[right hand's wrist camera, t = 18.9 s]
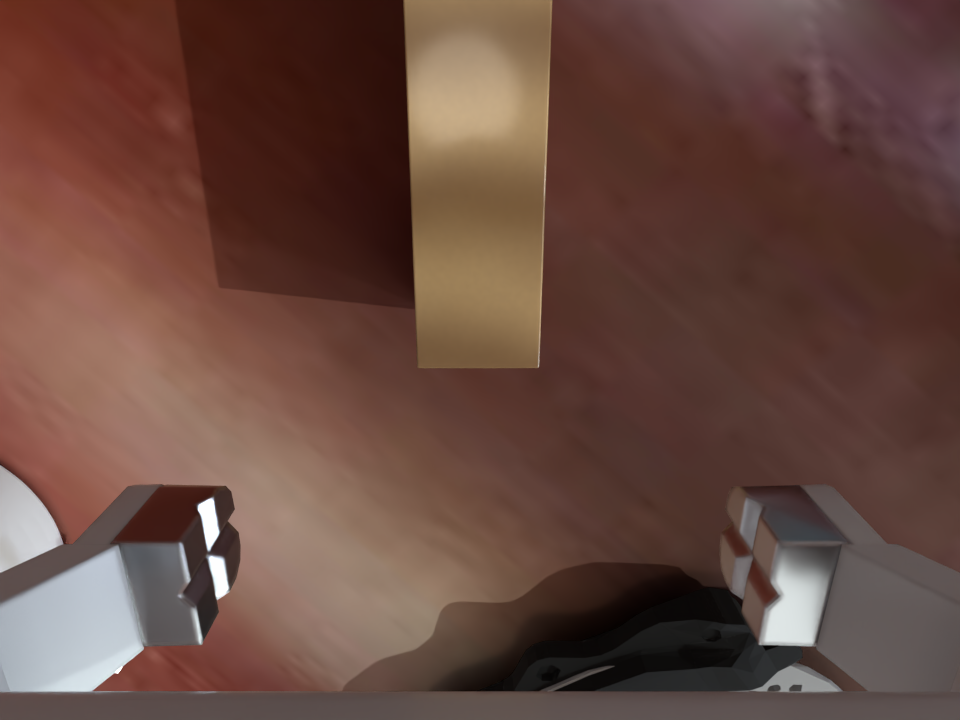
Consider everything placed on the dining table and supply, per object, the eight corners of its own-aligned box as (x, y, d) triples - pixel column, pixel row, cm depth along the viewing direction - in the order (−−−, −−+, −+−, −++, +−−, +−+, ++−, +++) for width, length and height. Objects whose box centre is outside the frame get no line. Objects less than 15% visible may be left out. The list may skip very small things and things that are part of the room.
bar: (525, 311, 34) (539, 368, 27) (431, 311, 34) (417, 368, 27) (539, -225, 26) (565, -365, 18) (415, -225, 26) (388, -365, 18)
